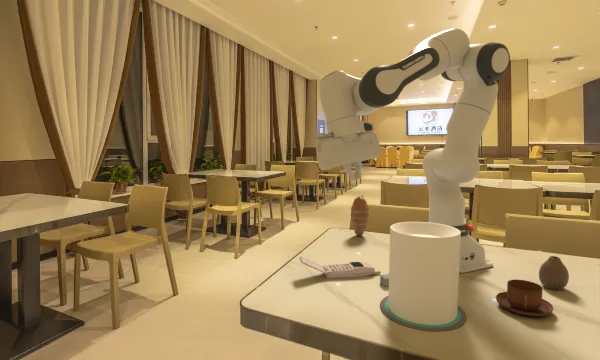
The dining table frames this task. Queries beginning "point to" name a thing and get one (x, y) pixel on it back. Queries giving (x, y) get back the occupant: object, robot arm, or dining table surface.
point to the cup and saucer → (524, 298)
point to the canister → (424, 272)
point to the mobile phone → (343, 269)
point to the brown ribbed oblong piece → (359, 215)
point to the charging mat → (444, 327)
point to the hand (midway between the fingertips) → (355, 179)
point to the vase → (553, 273)
